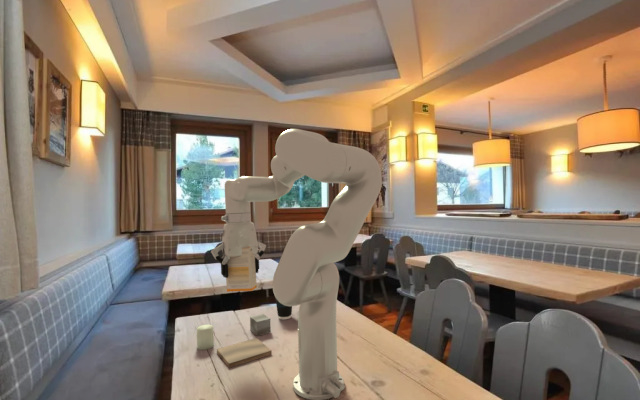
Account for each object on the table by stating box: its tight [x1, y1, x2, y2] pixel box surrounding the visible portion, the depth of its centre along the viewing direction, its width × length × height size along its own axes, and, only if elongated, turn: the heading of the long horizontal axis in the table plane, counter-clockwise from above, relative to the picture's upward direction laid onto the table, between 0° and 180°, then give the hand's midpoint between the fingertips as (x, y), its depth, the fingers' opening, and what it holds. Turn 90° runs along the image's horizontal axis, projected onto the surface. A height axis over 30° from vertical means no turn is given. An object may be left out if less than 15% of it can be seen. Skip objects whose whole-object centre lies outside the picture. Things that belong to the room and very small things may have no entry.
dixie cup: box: [274, 296, 293, 320], centre depth 129 cm, size 8×8×11 cm
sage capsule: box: [196, 324, 215, 351], centre depth 104 cm, size 5×5×6 cm
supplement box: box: [225, 247, 257, 293], centre depth 101 cm, size 8×5×13 cm, turn 83°
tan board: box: [216, 337, 273, 369], centre depth 99 cm, size 11×13×1 cm
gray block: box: [249, 313, 272, 337], centre depth 115 cm, size 6×5×5 cm
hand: (240, 274), depth 101 cm, fingers closed on supplement box, 9 cm apart
